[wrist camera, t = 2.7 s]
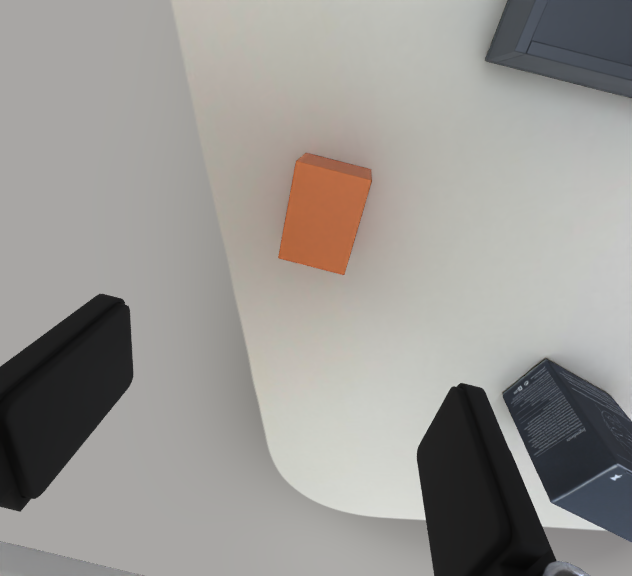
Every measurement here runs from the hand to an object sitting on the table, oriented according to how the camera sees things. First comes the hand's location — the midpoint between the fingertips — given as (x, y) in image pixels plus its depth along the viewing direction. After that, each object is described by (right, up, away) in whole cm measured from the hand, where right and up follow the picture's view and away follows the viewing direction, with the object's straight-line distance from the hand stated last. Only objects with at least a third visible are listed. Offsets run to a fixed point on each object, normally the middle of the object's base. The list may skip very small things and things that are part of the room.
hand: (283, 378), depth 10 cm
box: (+24, -7, +23) cm, 34 cm away
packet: (+2, +9, +17) cm, 20 cm away
